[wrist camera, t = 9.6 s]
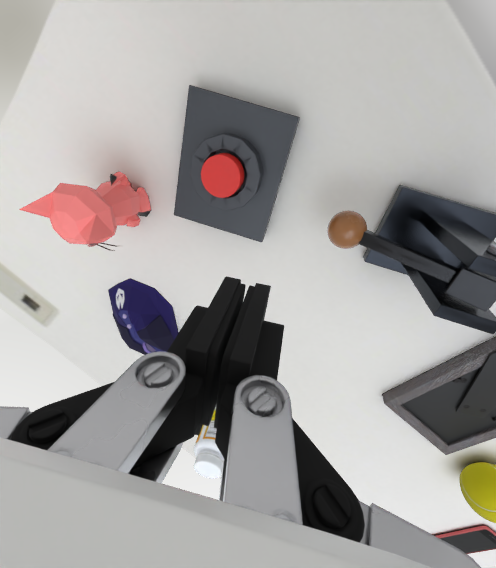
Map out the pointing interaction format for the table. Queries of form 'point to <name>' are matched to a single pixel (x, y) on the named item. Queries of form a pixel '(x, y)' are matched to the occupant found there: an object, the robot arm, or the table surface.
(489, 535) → the smartphone
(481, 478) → the tennis ball
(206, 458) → the supplement bottle
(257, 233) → the grey base plate
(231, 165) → the button
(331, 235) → the switch lever
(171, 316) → the computer mouse
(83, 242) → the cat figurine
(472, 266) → the switch bracket
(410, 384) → the picture frame
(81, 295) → the table surface
